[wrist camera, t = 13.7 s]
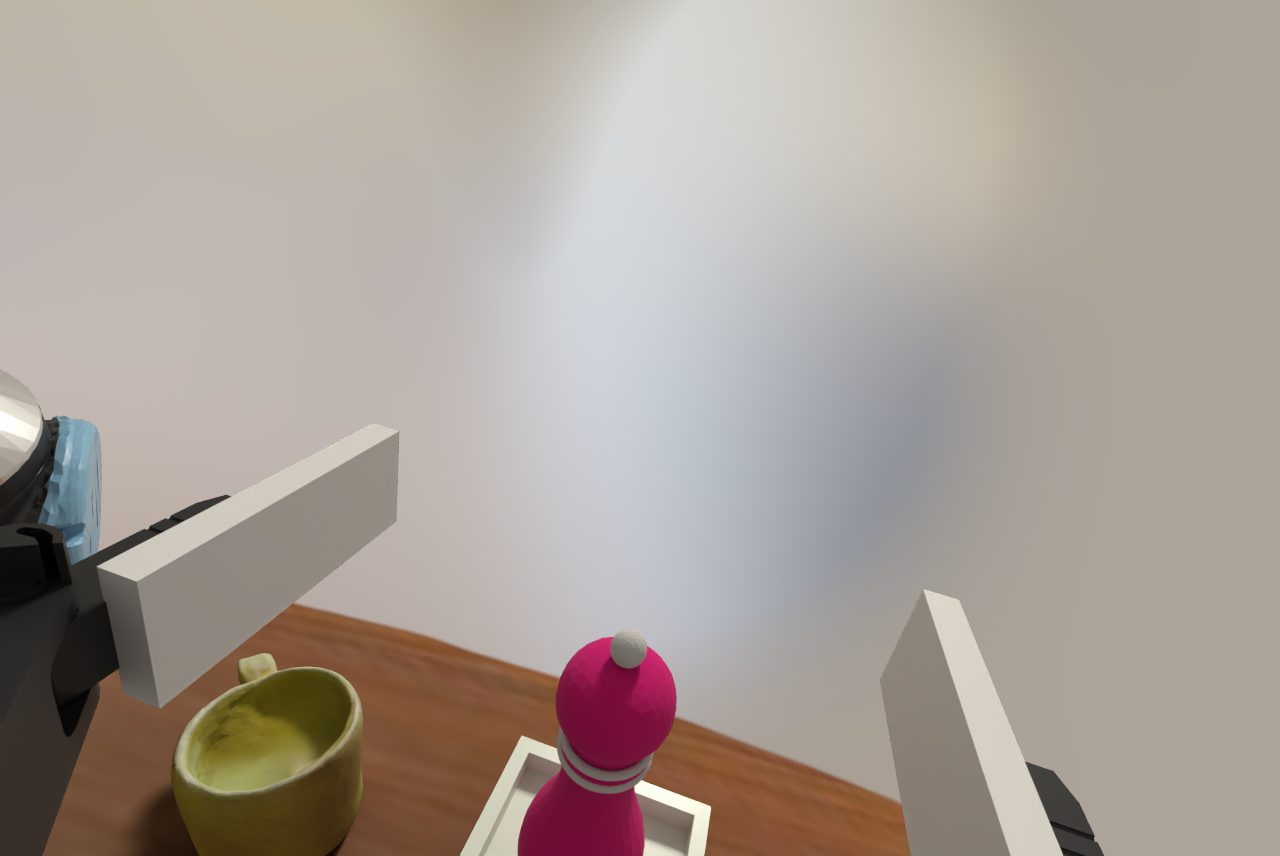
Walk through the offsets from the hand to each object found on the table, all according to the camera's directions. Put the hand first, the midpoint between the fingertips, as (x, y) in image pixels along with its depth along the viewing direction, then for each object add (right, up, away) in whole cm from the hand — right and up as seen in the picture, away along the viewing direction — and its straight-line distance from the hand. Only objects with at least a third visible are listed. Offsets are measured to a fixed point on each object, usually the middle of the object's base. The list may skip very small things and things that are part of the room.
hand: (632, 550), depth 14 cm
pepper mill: (-4, -25, +21) cm, 33 cm away
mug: (-23, -21, +24) cm, 39 cm away
